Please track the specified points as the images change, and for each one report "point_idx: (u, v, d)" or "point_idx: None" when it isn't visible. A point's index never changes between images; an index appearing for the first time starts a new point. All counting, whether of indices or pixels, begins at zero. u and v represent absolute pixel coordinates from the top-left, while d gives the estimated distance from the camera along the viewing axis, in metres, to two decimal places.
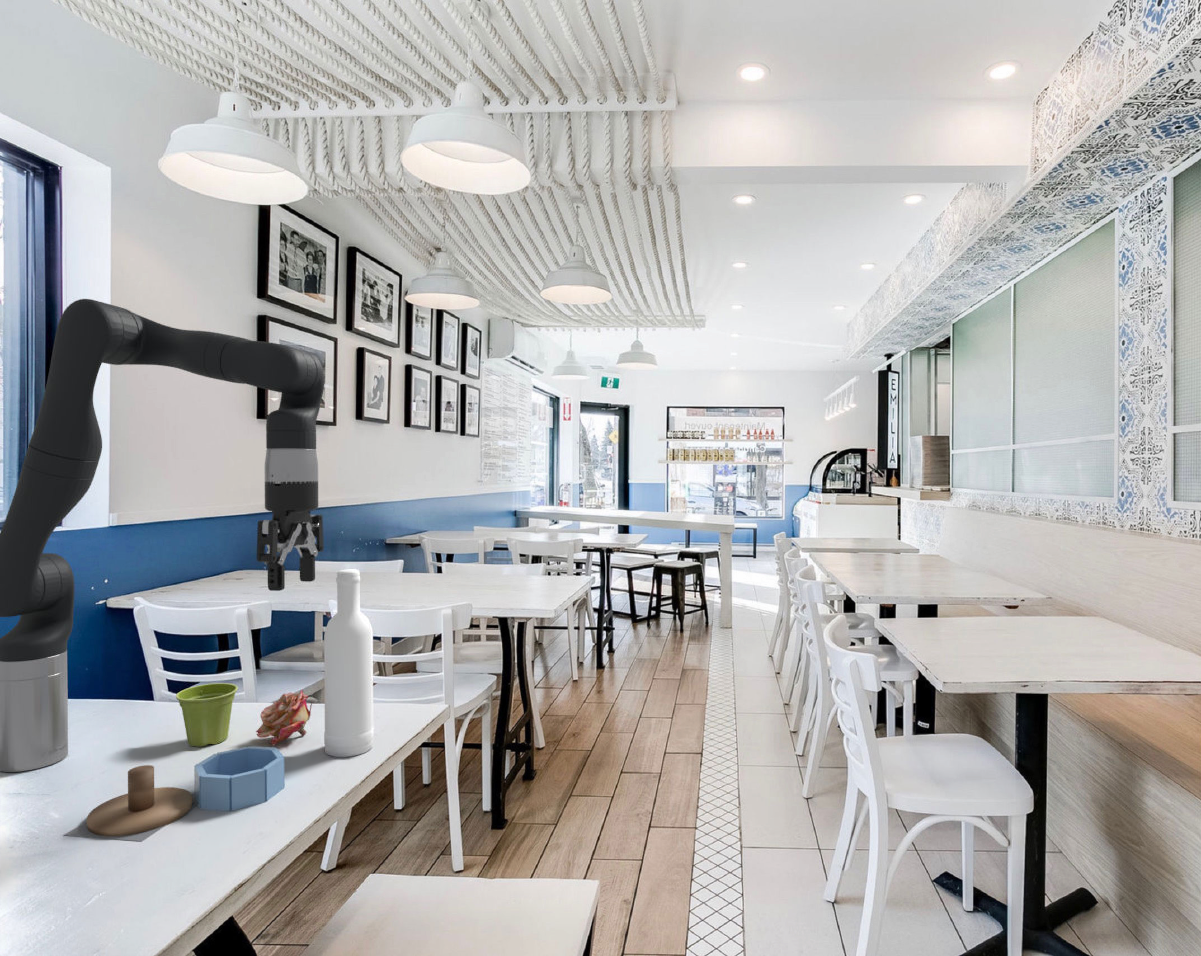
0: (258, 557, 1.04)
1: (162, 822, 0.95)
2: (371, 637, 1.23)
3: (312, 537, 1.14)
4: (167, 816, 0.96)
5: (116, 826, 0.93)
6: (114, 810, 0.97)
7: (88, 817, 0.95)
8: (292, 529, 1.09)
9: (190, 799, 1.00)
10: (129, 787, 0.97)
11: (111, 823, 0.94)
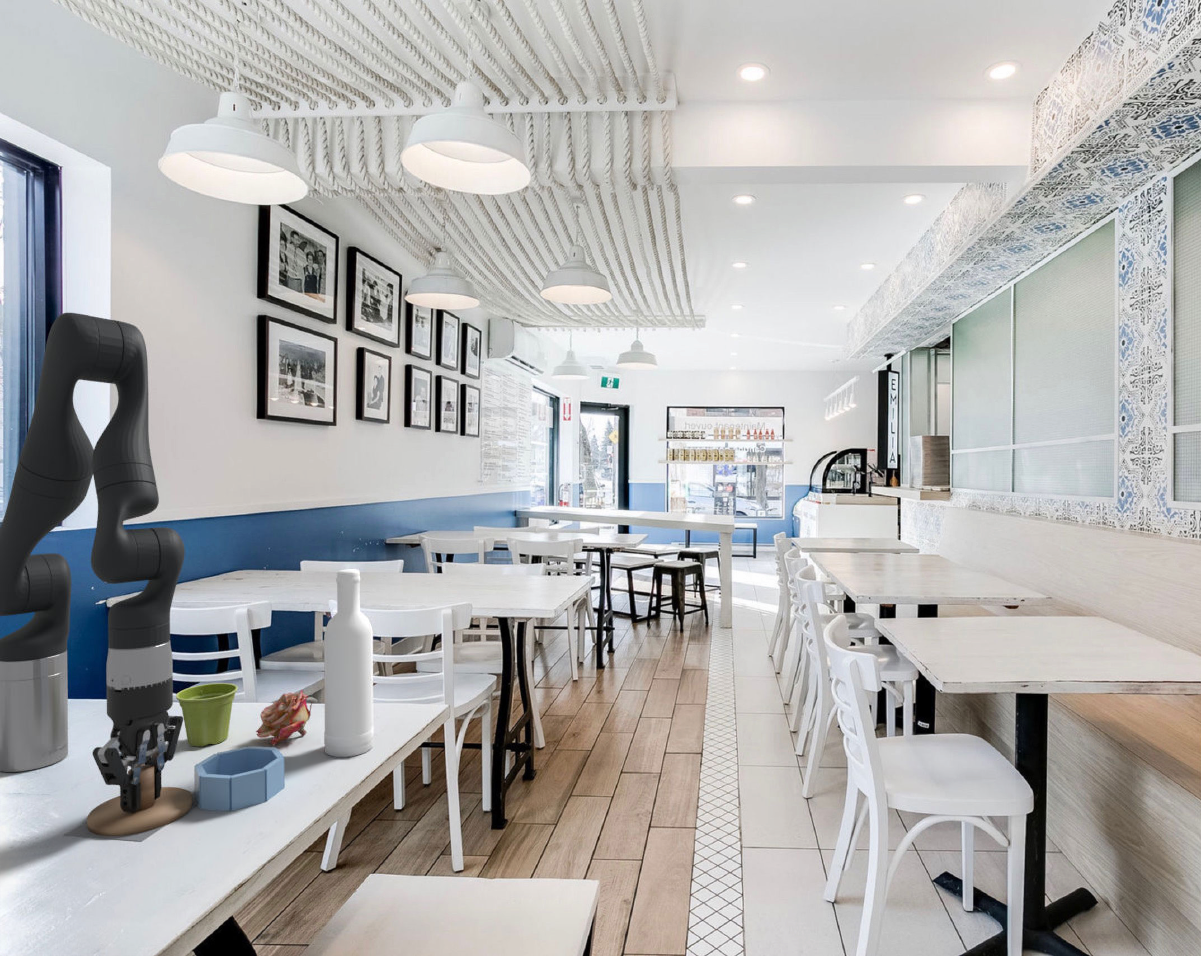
0: (107, 783, 0.94)
1: (162, 822, 0.95)
2: (371, 637, 1.23)
3: (162, 743, 1.00)
4: (167, 816, 0.96)
5: (116, 826, 0.93)
6: (114, 809, 0.97)
7: (88, 817, 0.95)
8: (138, 741, 0.96)
9: (190, 799, 1.00)
10: None
11: (111, 823, 0.94)
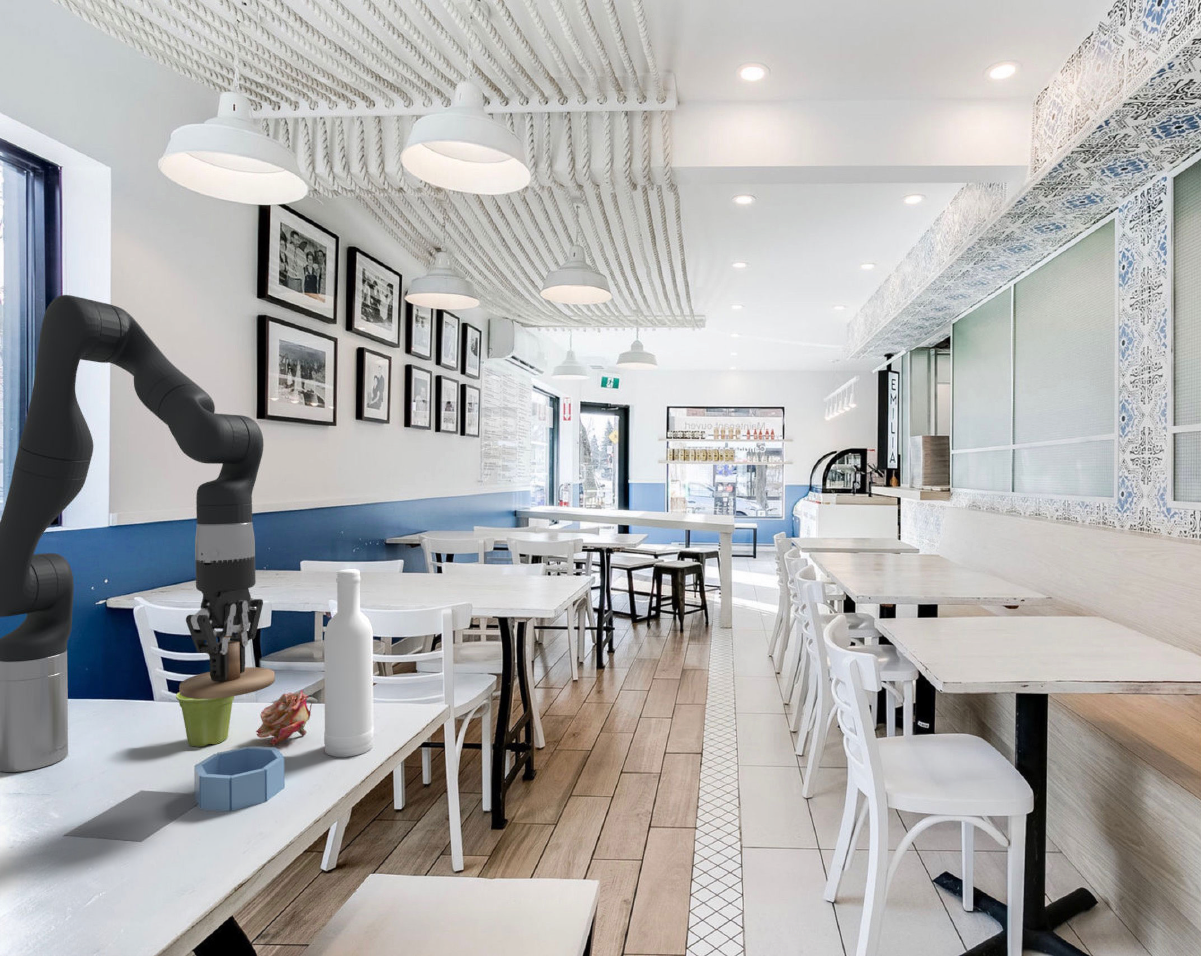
0: (198, 650, 0.99)
1: (250, 688, 1.00)
2: (371, 637, 1.23)
3: (246, 620, 1.05)
4: (254, 684, 1.01)
5: (208, 690, 0.98)
6: (203, 680, 1.02)
7: (180, 685, 1.00)
8: (226, 613, 1.01)
9: (273, 674, 1.05)
10: None
11: (203, 688, 0.99)
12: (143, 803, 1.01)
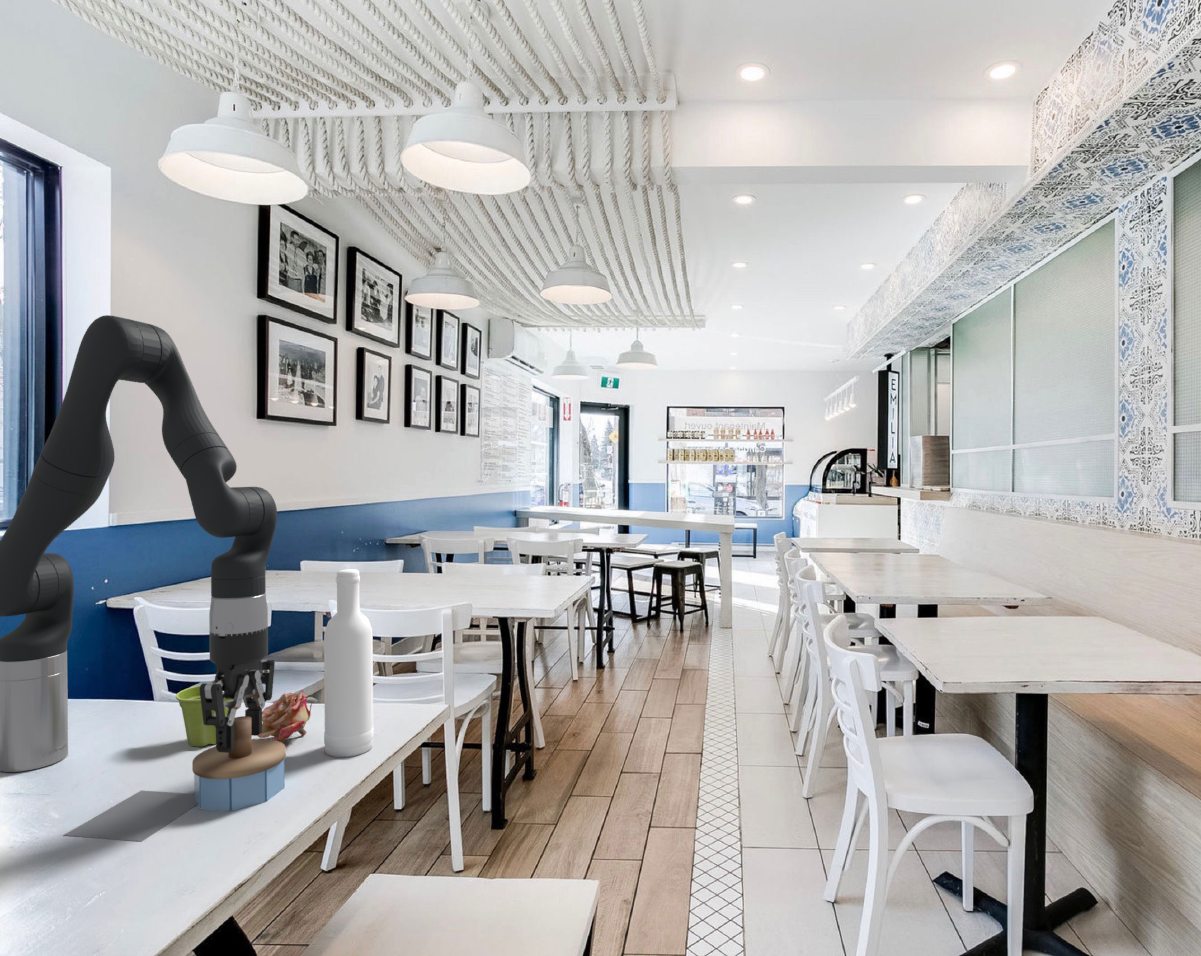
0: (205, 722, 0.99)
1: (263, 767, 1.01)
2: (371, 637, 1.23)
3: (260, 686, 1.07)
4: (267, 762, 1.02)
5: (222, 770, 0.99)
6: (216, 757, 1.04)
7: (193, 762, 1.02)
8: (239, 683, 1.02)
9: (284, 748, 1.07)
10: None
11: (216, 767, 1.00)
12: (143, 803, 1.01)
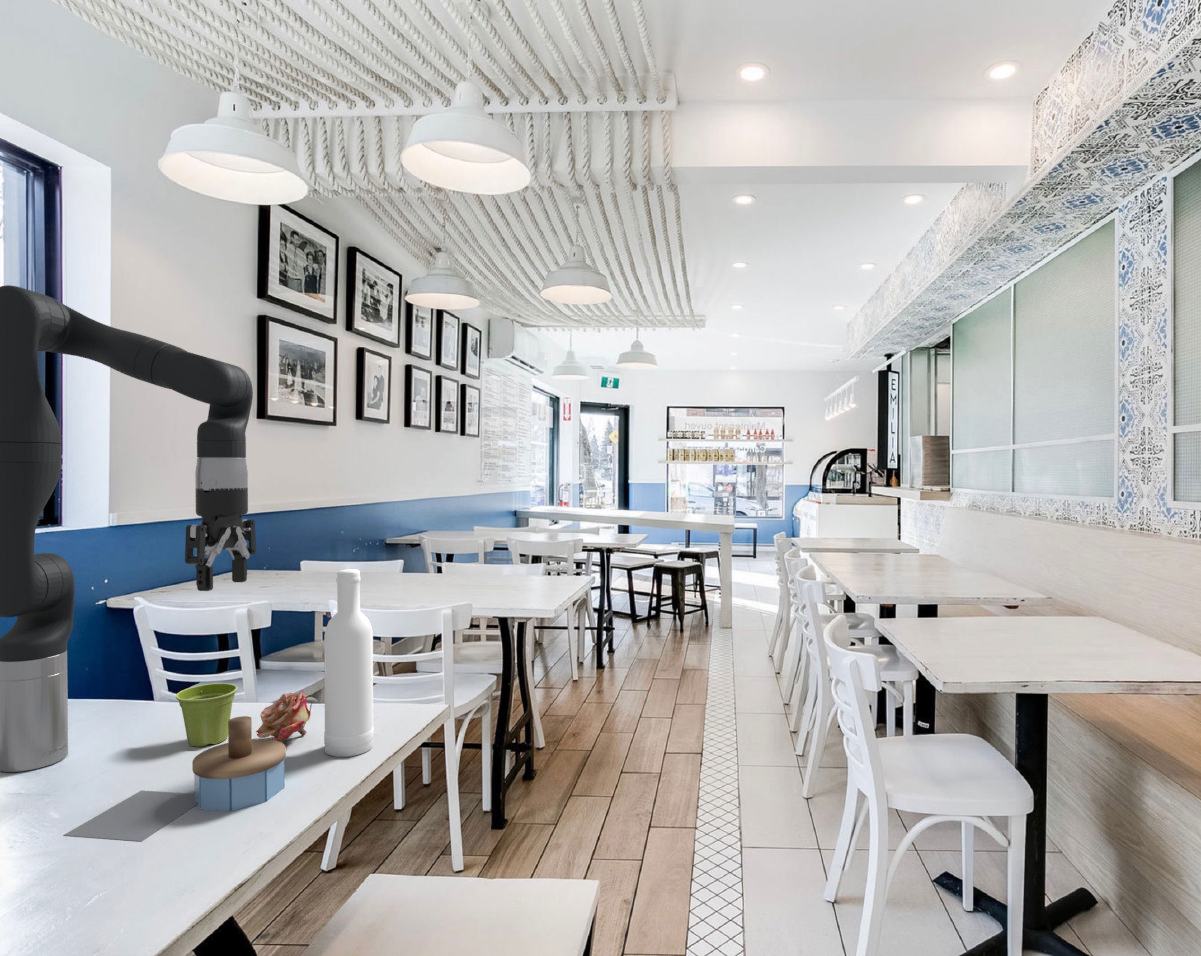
0: (186, 559, 1.11)
1: (263, 767, 1.01)
2: (371, 637, 1.23)
3: (243, 540, 1.21)
4: (267, 762, 1.02)
5: (222, 770, 0.99)
6: (216, 757, 1.04)
7: (193, 762, 1.02)
8: (221, 533, 1.16)
9: (284, 748, 1.07)
10: (230, 735, 1.04)
11: (216, 767, 1.00)
12: (143, 803, 1.01)
